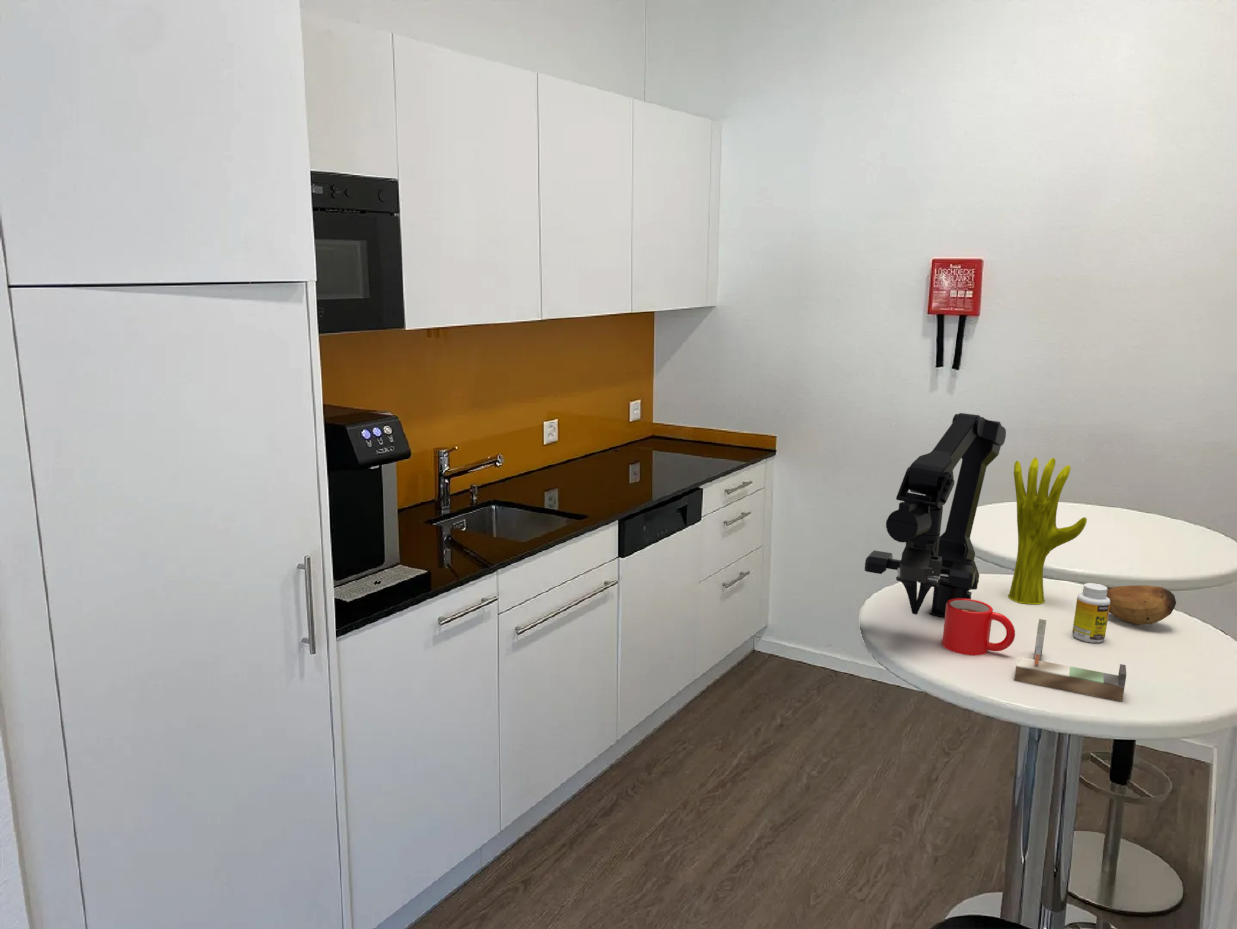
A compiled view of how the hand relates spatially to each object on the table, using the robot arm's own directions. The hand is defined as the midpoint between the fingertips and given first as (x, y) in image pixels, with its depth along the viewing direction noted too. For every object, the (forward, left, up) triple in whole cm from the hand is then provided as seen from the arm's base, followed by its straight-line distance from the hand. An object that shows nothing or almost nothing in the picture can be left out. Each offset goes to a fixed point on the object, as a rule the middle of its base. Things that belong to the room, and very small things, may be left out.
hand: (915, 613), depth 175 cm
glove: (+19, +35, -5) cm, 40 cm away
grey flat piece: (+21, -3, -4) cm, 22 cm away
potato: (+37, +31, -5) cm, 49 cm away
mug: (+11, 0, -5) cm, 12 cm away
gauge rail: (+26, -9, -4) cm, 28 cm away
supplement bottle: (+29, +17, -5) cm, 34 cm away
